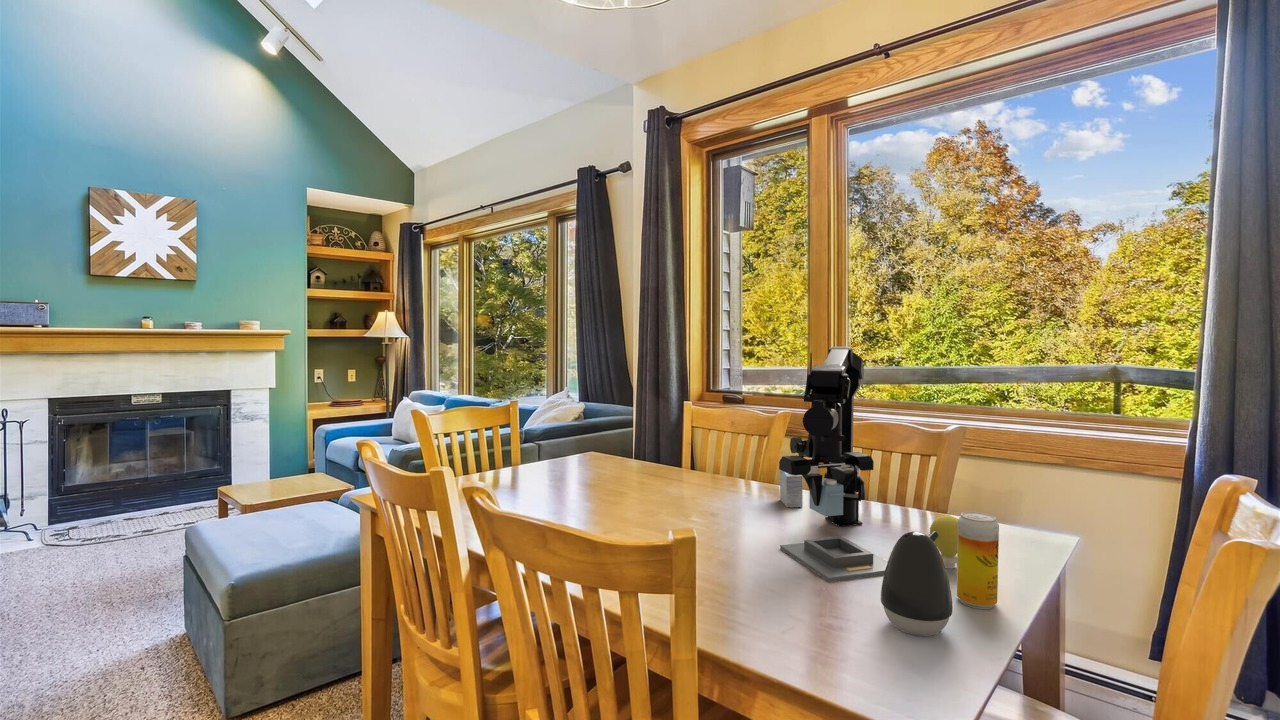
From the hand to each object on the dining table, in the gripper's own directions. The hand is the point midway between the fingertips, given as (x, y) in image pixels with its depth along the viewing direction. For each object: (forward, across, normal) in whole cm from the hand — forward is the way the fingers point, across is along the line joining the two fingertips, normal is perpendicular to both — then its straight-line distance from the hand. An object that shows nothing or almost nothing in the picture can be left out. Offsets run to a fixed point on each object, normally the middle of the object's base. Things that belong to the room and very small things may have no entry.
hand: (826, 504), depth 123 cm
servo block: (+1, 0, 0) cm, 1 cm away
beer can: (+11, -13, +25) cm, 31 cm away
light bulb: (+11, -21, +10) cm, 26 cm away
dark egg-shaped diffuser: (+11, +3, +30) cm, 32 cm away
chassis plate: (+11, -2, +2) cm, 11 cm away
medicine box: (+11, -13, -37) cm, 41 cm away
